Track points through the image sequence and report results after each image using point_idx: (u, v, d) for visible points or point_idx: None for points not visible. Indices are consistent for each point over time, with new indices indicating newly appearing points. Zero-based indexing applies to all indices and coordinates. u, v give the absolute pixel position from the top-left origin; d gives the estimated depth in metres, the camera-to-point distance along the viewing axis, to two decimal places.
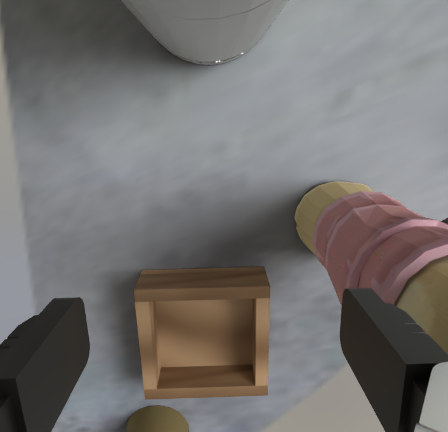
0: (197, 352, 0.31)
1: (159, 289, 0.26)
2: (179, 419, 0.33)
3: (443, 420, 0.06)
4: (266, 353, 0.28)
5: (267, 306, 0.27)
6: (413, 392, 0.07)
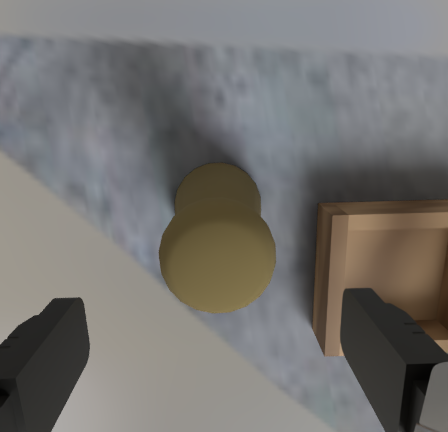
0: (352, 262, 0.25)
1: None
2: None
3: (443, 420, 0.06)
4: None
5: (445, 350, 0.25)
6: (413, 392, 0.07)
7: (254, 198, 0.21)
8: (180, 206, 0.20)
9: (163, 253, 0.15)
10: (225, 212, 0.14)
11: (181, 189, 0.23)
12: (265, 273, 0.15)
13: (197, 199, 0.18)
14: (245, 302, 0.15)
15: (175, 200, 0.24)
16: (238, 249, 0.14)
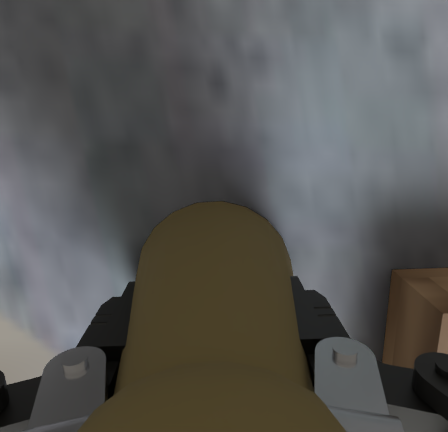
0: None
1: None
2: None
3: (332, 393, 0.06)
4: None
5: None
6: None
7: (289, 286, 0.10)
8: (132, 315, 0.09)
9: None
10: None
11: (144, 257, 0.12)
12: None
13: (163, 324, 0.07)
14: None
15: None
16: None
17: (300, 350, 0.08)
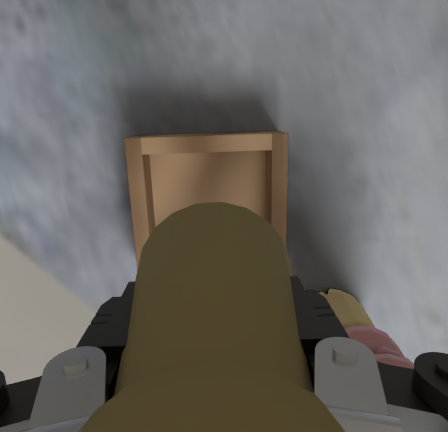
0: (173, 196, 0.25)
1: (287, 164, 0.22)
2: None
3: (332, 393, 0.06)
4: None
5: None
6: None
7: (289, 286, 0.10)
8: (132, 315, 0.09)
9: None
10: None
11: (144, 257, 0.12)
12: None
13: (163, 325, 0.07)
14: None
15: None
16: None
17: (300, 351, 0.08)
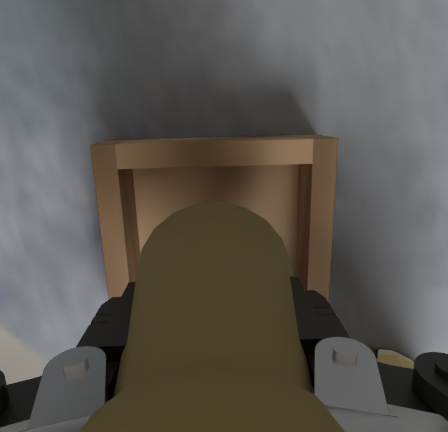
0: None
1: (335, 184, 0.15)
2: None
3: (332, 393, 0.06)
4: None
5: None
6: None
7: (289, 287, 0.10)
8: (132, 316, 0.09)
9: None
10: None
11: (144, 258, 0.12)
12: None
13: (163, 325, 0.07)
14: None
15: (137, 271, 0.13)
16: None
17: (300, 351, 0.08)
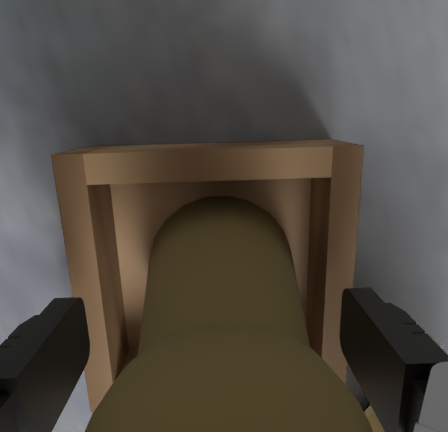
0: (151, 249, 0.15)
1: (359, 202, 0.12)
2: None
3: (442, 420, 0.06)
4: None
5: None
6: (412, 392, 0.07)
7: (290, 271, 0.11)
8: (150, 294, 0.10)
9: None
10: (260, 421, 0.05)
11: (158, 245, 0.13)
12: None
13: (182, 298, 0.08)
14: None
15: None
16: None
17: (300, 322, 0.09)
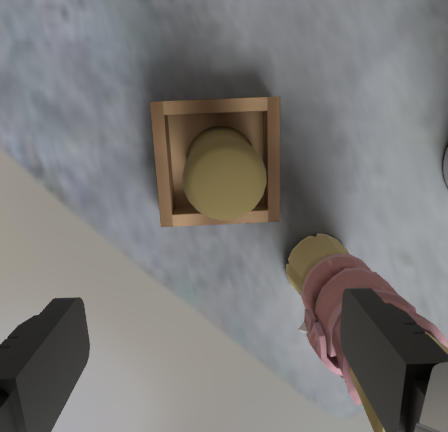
0: None
1: None
2: None
3: (443, 420, 0.06)
4: (209, 222, 0.30)
5: (259, 220, 0.30)
6: (413, 392, 0.07)
7: None
8: None
9: (186, 173, 0.21)
10: (230, 143, 0.21)
11: (192, 145, 0.29)
12: (259, 187, 0.21)
13: None
14: (245, 209, 0.21)
15: (187, 156, 0.30)
16: (240, 168, 0.20)
17: None
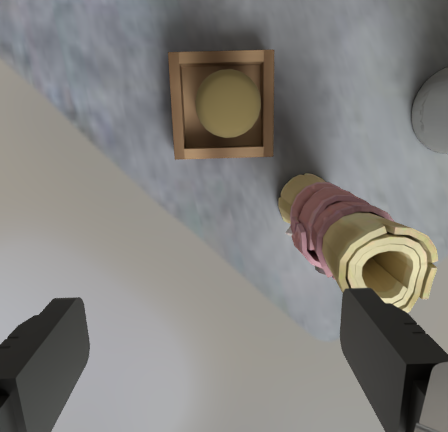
0: None
1: None
2: None
3: (443, 420, 0.06)
4: (215, 156, 0.36)
5: (256, 155, 0.36)
6: (413, 392, 0.07)
7: None
8: None
9: (199, 96, 0.27)
10: (233, 72, 0.27)
11: None
12: (254, 107, 0.27)
13: None
14: (243, 125, 0.28)
15: None
16: (240, 91, 0.27)
17: None
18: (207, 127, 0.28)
